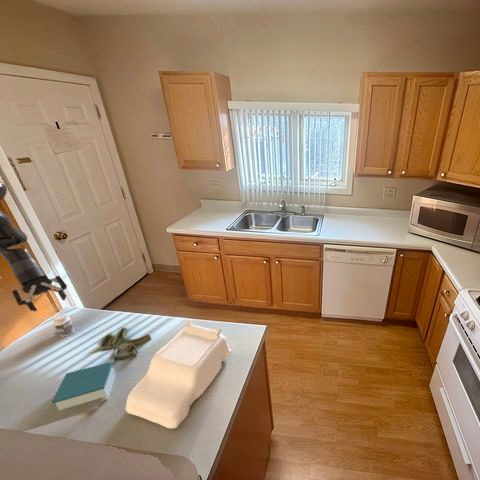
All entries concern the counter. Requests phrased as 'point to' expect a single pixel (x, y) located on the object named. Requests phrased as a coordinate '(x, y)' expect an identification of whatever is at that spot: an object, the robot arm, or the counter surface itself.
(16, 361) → the counter surface
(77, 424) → the counter surface
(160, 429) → the counter surface
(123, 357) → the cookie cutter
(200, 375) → the white toy car
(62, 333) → the pill bottle
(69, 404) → the teal book
